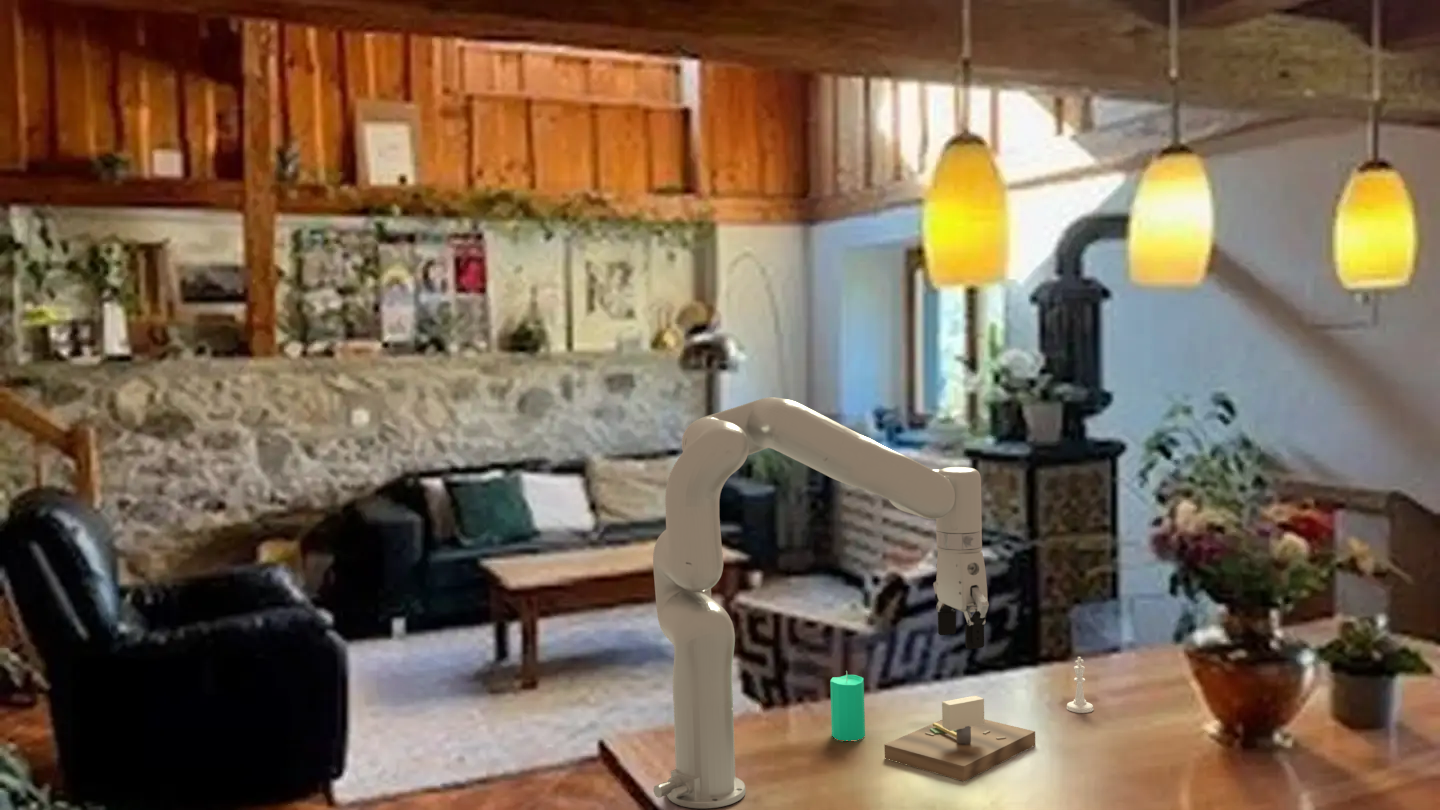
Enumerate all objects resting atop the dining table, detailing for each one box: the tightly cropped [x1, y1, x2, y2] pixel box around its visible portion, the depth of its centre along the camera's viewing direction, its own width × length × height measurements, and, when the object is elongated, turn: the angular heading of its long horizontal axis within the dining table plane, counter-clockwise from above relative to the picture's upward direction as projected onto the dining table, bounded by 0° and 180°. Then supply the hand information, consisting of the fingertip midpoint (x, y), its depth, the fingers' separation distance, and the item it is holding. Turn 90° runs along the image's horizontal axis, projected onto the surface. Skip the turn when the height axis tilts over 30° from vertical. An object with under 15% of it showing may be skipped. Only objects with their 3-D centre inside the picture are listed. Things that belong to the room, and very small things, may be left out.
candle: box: [829, 670, 866, 741], centre depth 220 cm, size 6×6×12 cm
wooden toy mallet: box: [932, 695, 985, 744], centre depth 210 cm, size 10×7×7 cm
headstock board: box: [883, 718, 1036, 782], centre depth 210 cm, size 22×16×3 cm
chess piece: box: [1066, 656, 1094, 714], centre depth 231 cm, size 5×5×10 cm
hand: (960, 640), depth 206 cm, fingers open, 9 cm apart
